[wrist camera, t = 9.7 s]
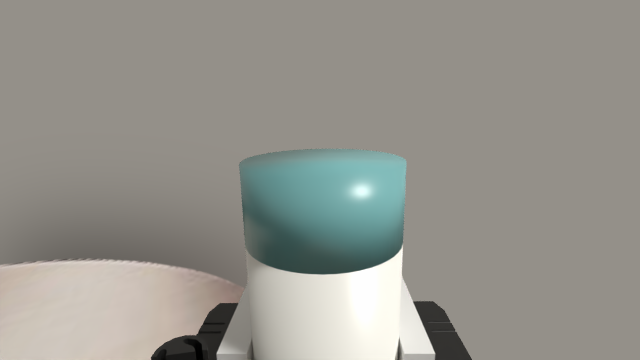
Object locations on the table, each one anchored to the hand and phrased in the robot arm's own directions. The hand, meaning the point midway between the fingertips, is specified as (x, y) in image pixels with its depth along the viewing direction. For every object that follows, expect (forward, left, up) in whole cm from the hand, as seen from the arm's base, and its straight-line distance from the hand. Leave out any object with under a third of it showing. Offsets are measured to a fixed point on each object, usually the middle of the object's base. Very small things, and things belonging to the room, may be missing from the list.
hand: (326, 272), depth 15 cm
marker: (0, -5, -8) cm, 10 cm away
